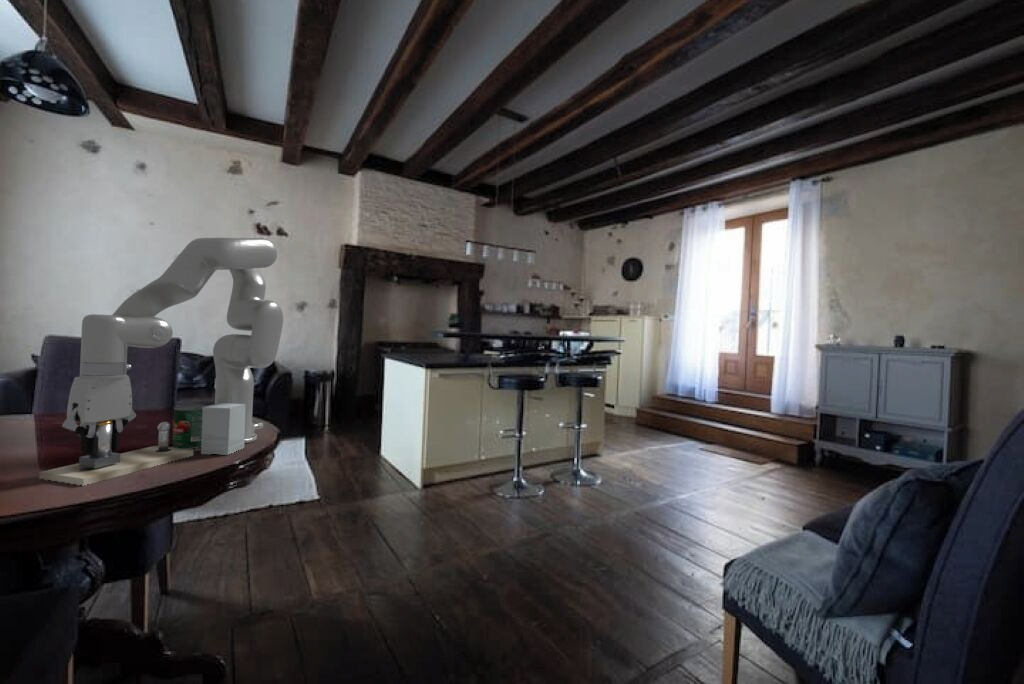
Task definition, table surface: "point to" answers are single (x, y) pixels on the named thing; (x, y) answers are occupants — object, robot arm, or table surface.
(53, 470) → the hole plate
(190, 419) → the canned tomato
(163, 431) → the fixed leg
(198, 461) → the table surface
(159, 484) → the table surface
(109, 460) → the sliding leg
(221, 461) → the table surface
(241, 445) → the supplement box
